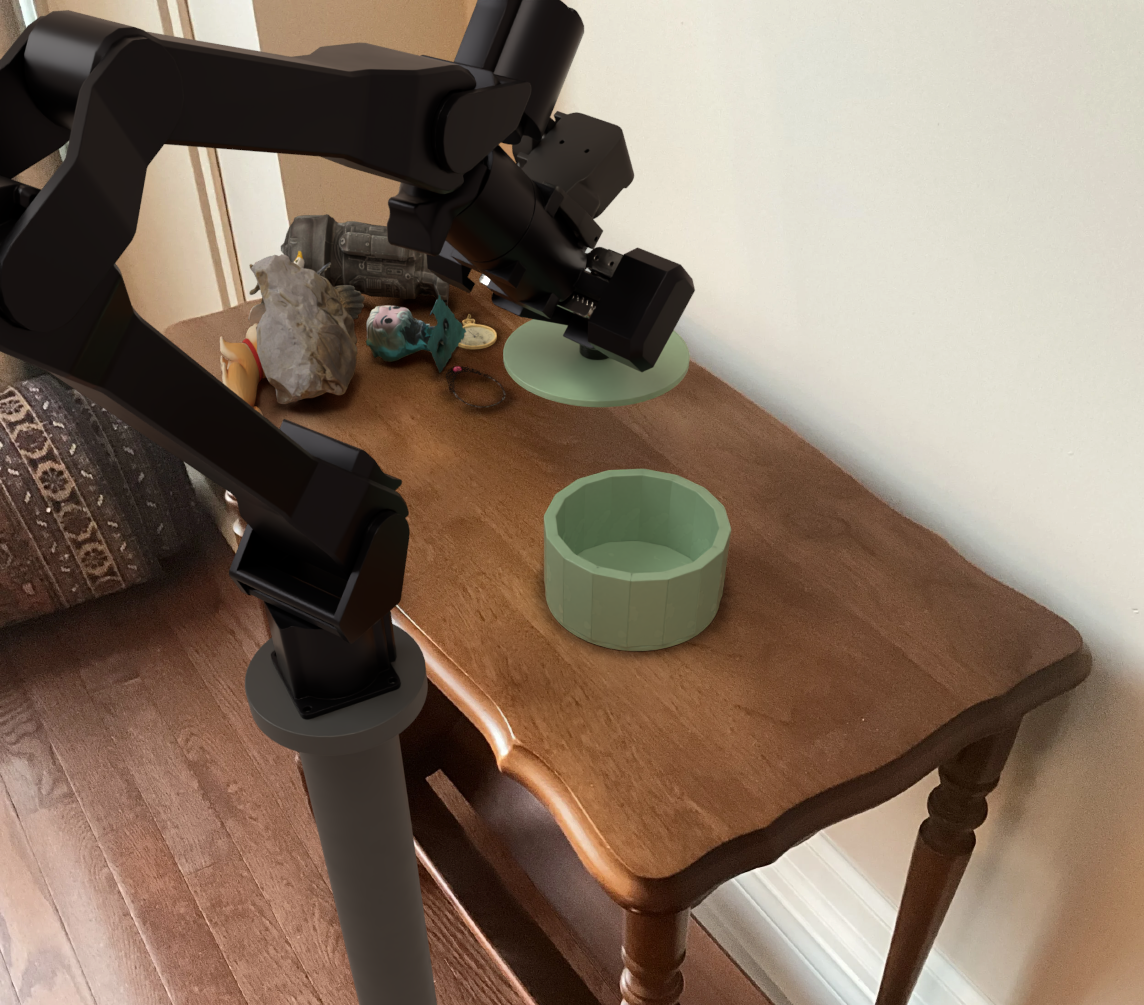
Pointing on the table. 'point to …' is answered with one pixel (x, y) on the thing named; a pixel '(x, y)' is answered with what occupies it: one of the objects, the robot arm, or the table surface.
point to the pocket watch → (477, 335)
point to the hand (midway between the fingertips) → (610, 328)
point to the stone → (303, 332)
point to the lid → (587, 369)
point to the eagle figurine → (347, 293)
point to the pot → (635, 558)
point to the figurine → (413, 333)
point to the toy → (242, 366)
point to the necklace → (456, 369)
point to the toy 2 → (361, 258)
